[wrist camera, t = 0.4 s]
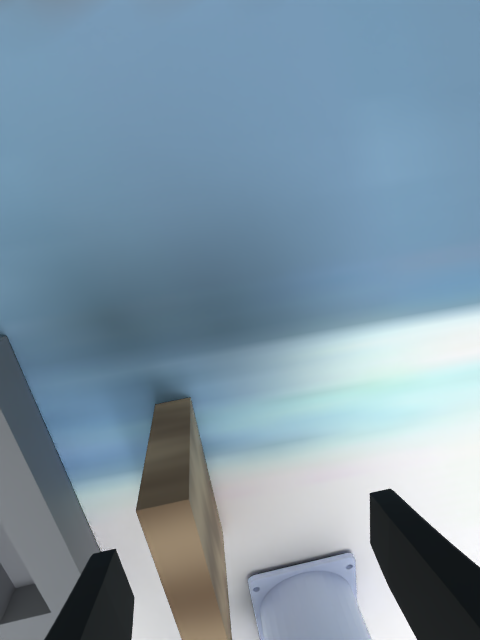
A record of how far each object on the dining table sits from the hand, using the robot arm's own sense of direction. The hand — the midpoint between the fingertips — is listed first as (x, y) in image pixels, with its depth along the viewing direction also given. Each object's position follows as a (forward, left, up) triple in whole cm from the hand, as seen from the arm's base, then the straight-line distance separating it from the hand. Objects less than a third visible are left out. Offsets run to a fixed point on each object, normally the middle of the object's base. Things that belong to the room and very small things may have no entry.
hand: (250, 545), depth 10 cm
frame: (-7, +3, -10) cm, 13 cm away
